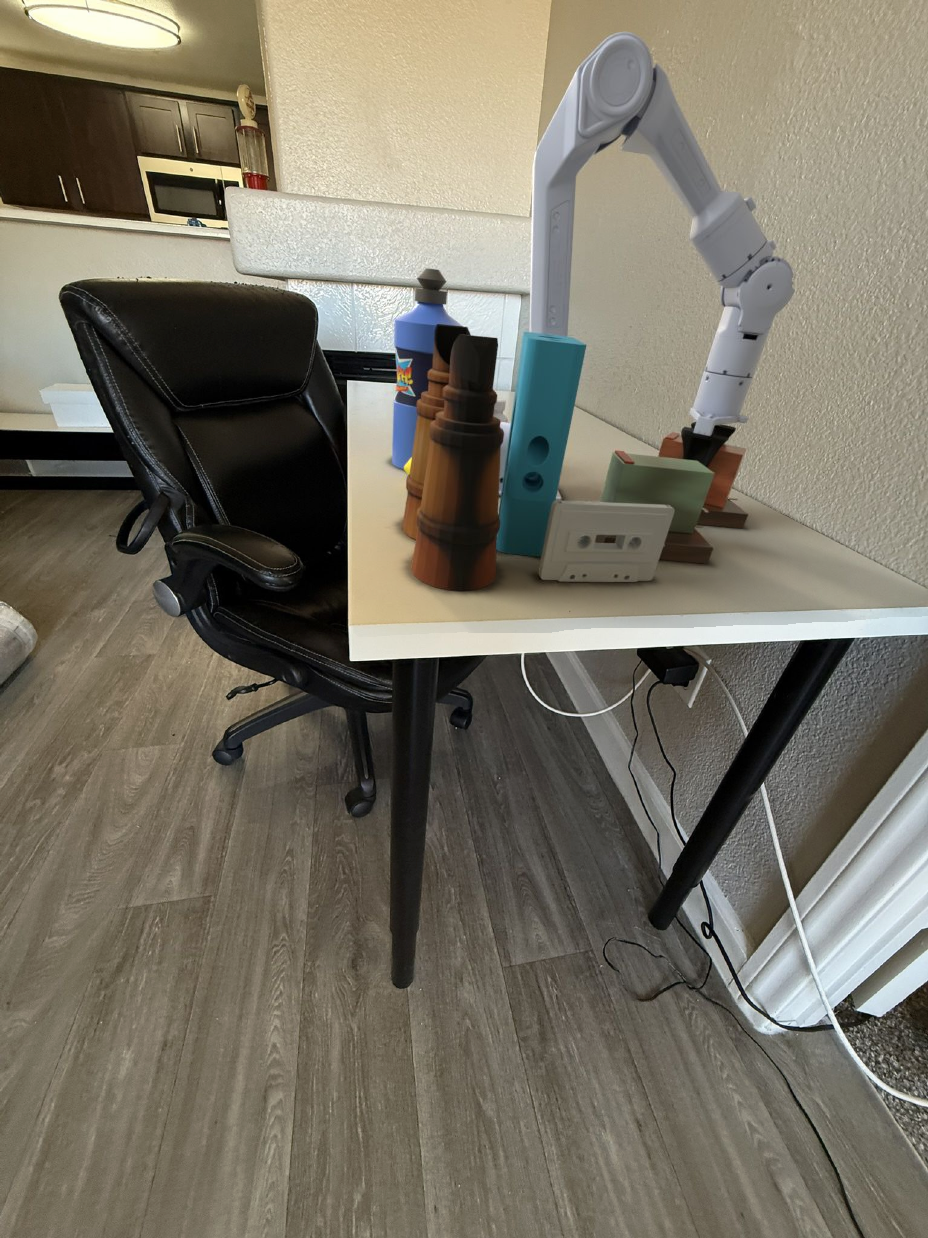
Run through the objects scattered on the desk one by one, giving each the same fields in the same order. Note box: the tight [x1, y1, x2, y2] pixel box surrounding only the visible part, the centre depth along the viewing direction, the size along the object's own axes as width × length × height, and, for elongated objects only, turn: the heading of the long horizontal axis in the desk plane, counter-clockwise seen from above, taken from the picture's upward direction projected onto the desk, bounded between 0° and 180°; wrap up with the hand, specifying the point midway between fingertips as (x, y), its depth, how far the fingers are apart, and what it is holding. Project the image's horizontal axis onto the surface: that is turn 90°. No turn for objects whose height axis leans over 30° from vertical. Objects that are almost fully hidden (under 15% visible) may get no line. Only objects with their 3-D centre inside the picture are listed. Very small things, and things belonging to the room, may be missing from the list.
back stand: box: [697, 497, 749, 529], centre depth 73 cm, size 14×14×2 cm
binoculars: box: [401, 324, 504, 592], centre depth 49 cm, size 18×8×20 cm, turn 11°
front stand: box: [584, 500, 714, 565], centre depth 62 cm, size 14×14×2 cm
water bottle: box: [391, 267, 463, 470], centre depth 73 cm, size 9×9×25 cm
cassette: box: [537, 500, 675, 583], centre depth 50 cm, size 12×2×8 cm, turn 99°
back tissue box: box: [657, 431, 747, 508], centre depth 71 cm, size 10×5×7 cm, turn 59°
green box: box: [600, 450, 715, 534], centre depth 59 cm, size 10×5×7 cm, turn 89°
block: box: [496, 331, 587, 557], centre depth 53 cm, size 12×5×20 cm, turn 176°
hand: (692, 481), depth 72 cm, fingers closed on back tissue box, 5 cm apart
